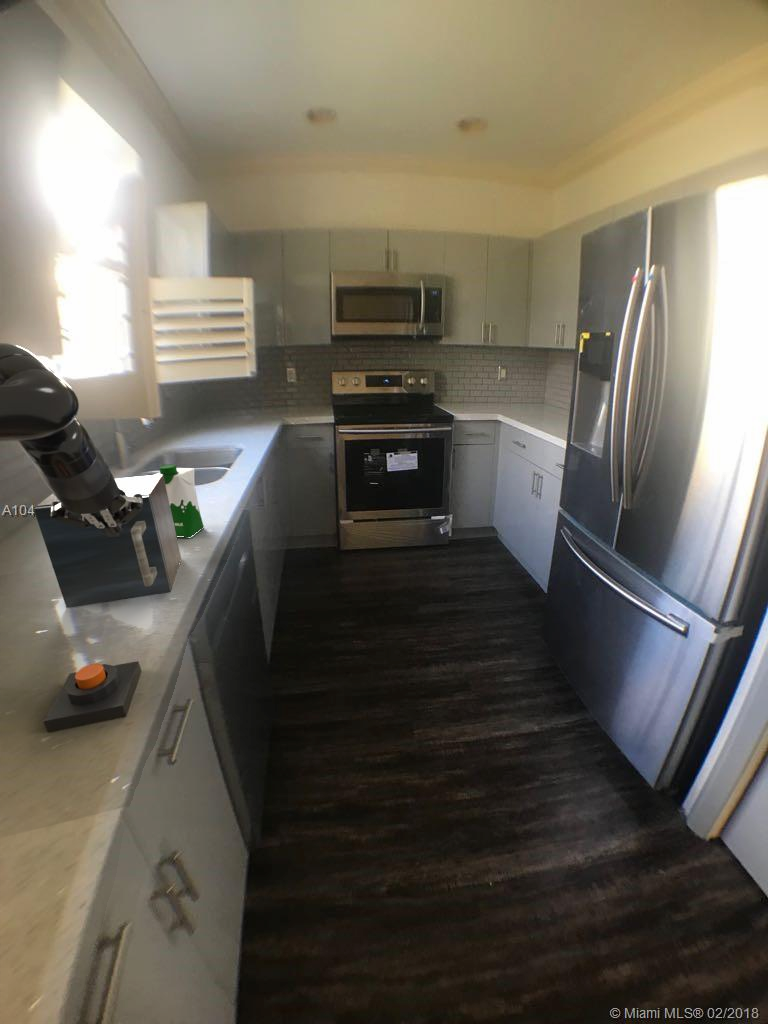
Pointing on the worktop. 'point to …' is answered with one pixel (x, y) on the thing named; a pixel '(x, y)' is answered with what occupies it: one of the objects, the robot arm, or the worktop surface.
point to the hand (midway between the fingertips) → (114, 531)
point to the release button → (90, 676)
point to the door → (105, 558)
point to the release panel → (94, 699)
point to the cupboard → (162, 514)
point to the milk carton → (182, 499)
